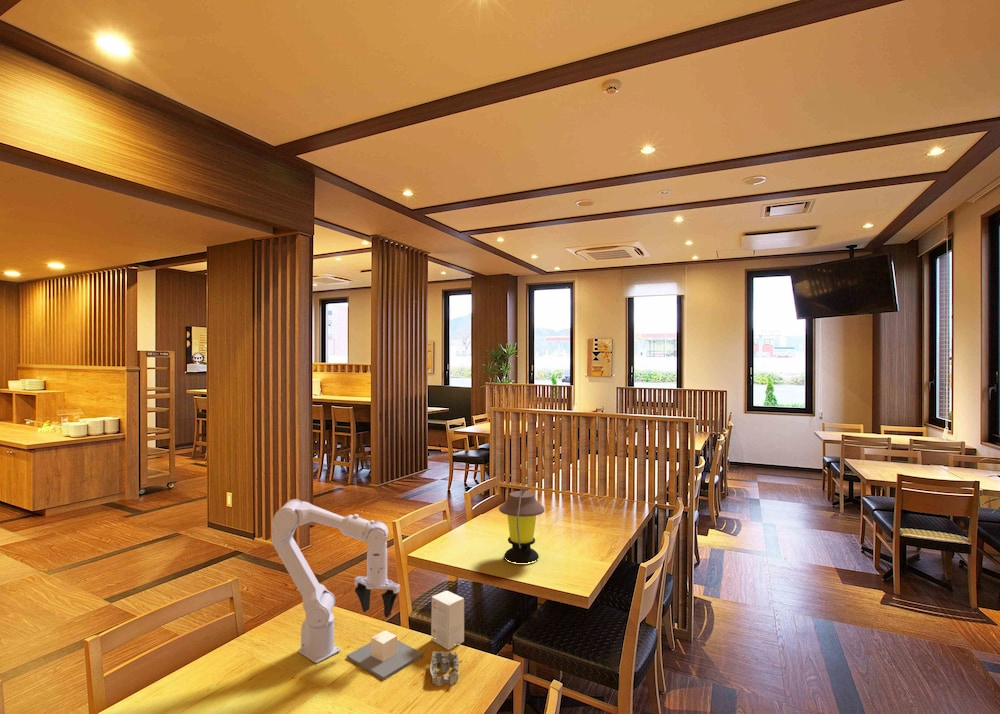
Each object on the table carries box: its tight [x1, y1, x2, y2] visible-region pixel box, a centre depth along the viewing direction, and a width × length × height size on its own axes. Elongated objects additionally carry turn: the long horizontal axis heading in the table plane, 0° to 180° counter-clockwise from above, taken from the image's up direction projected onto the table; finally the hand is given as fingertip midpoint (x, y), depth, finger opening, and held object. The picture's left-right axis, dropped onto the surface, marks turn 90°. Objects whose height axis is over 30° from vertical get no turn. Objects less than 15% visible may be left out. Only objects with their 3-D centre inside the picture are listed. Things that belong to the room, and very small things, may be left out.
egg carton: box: [429, 650, 460, 687], centre depth 137 cm, size 11×8×4 cm
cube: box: [370, 630, 398, 662], centre depth 144 cm, size 5×5×5 cm
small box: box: [430, 590, 465, 651], centre depth 153 cm, size 8×6×13 cm
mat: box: [346, 639, 424, 681], centre depth 144 cm, size 16×14×1 cm
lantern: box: [498, 484, 545, 563], centre depth 217 cm, size 25×19×30 cm
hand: (376, 613), depth 148 cm, fingers open, 7 cm apart
